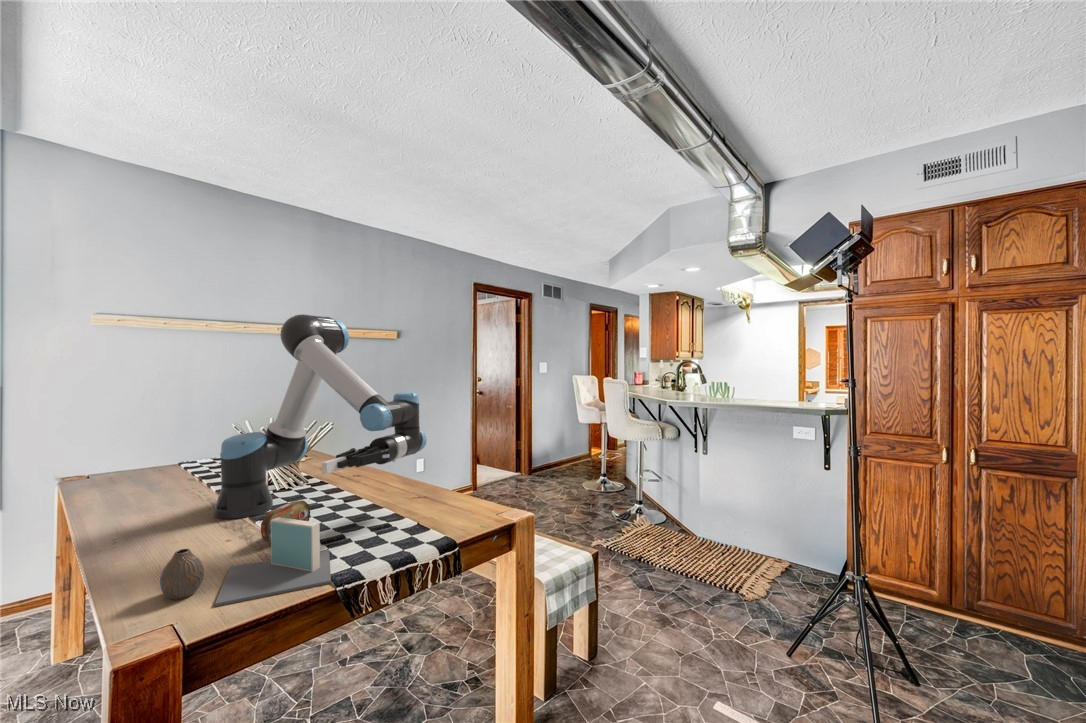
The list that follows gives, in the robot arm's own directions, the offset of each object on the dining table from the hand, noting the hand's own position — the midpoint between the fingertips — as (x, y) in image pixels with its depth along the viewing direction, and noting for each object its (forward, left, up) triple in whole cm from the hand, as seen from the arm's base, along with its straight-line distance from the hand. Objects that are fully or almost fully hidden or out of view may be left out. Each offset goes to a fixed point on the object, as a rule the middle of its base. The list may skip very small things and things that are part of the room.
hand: (324, 467), depth 110 cm
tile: (+6, -6, -15) cm, 17 cm away
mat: (+8, -9, -21) cm, 24 cm away
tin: (-16, -9, -21) cm, 28 cm away
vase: (+8, -26, -21) cm, 34 cm away
